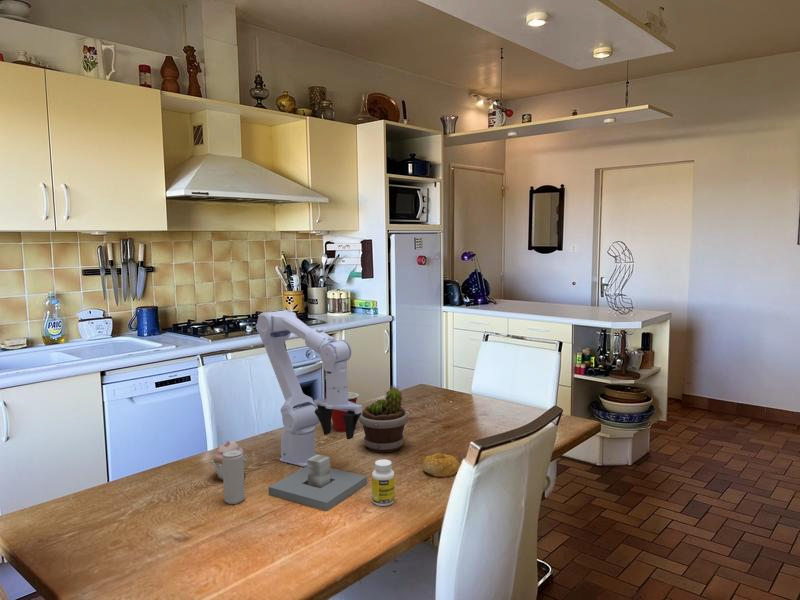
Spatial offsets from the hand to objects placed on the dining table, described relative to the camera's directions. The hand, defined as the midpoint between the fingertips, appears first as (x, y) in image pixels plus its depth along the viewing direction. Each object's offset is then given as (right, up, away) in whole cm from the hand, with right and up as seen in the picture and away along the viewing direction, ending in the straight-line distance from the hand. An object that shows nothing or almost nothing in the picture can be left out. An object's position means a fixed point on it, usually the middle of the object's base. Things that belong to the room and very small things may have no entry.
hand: (338, 436), depth 153 cm
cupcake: (-29, -11, 0) cm, 31 cm away
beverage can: (-24, -12, -14) cm, 30 cm away
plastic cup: (-2, -7, +38) cm, 38 cm away
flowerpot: (+12, -8, +20) cm, 25 cm away
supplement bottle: (+13, -12, -16) cm, 24 cm away
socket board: (-4, -11, -9) cm, 15 cm away
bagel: (+28, -10, +2) cm, 30 cm away
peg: (-4, -11, -8) cm, 15 cm away
